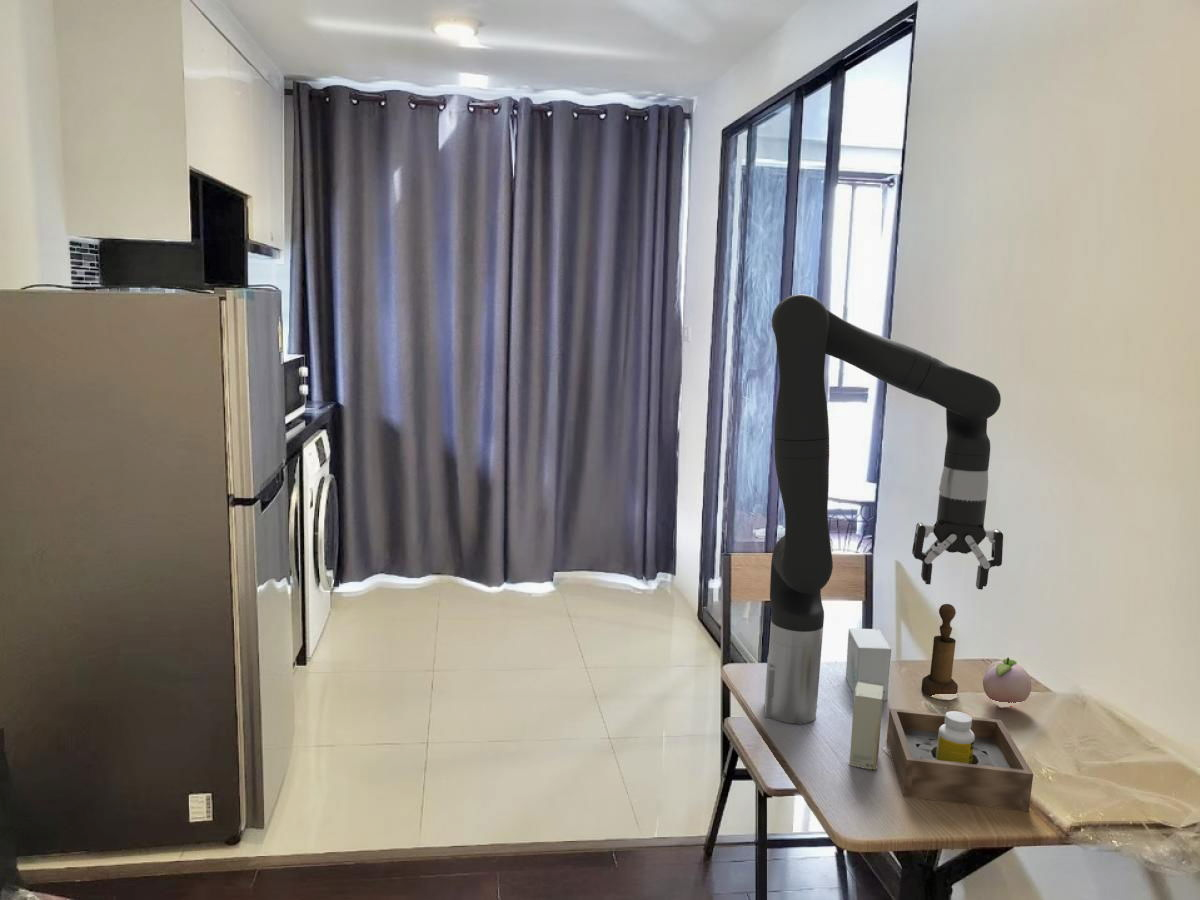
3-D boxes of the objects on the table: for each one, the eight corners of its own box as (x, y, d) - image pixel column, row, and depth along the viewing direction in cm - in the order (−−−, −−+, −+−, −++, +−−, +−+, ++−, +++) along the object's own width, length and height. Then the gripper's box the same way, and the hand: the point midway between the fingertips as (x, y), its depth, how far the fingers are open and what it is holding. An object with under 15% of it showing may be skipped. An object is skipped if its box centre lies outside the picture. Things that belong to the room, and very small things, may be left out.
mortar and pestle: (964, 696, 174) (973, 607, 171) (943, 703, 170) (953, 612, 167) (934, 683, 179) (943, 597, 176) (914, 690, 175) (922, 602, 172)
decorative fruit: (1026, 723, 163) (1032, 671, 161) (977, 712, 167) (983, 661, 165) (1030, 704, 171) (1036, 654, 169) (983, 694, 175) (989, 645, 173)
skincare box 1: (843, 676, 181) (847, 626, 179) (876, 678, 181) (880, 628, 179) (853, 698, 171) (858, 646, 169) (888, 701, 170) (893, 648, 169)
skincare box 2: (876, 771, 144) (882, 700, 142) (847, 766, 145) (853, 695, 143) (878, 753, 150) (884, 685, 148) (851, 748, 151) (857, 680, 149)
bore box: (903, 796, 137) (906, 759, 136) (886, 741, 154) (889, 708, 153) (1028, 811, 134) (1033, 774, 133) (997, 753, 151) (1000, 719, 150)
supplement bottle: (973, 784, 141) (980, 726, 139) (937, 779, 142) (943, 721, 140) (966, 767, 146) (972, 711, 145) (931, 763, 147) (937, 707, 146)
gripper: (922, 495, 150) (913, 588, 153) (1013, 501, 147) (1002, 596, 150) (915, 486, 157) (907, 575, 160) (1002, 493, 155) (991, 583, 157)
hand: (953, 585), depth 155 cm, fingers open, 8 cm apart
